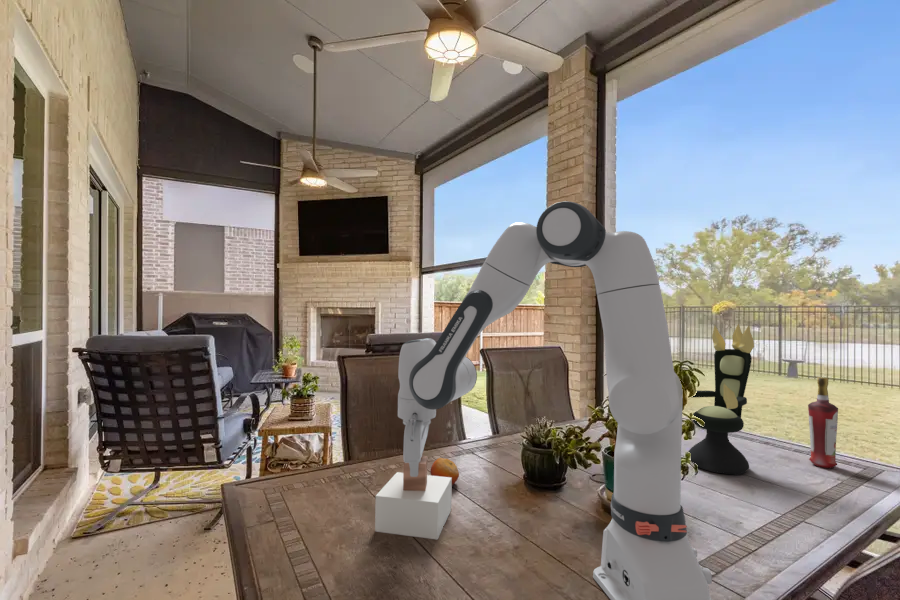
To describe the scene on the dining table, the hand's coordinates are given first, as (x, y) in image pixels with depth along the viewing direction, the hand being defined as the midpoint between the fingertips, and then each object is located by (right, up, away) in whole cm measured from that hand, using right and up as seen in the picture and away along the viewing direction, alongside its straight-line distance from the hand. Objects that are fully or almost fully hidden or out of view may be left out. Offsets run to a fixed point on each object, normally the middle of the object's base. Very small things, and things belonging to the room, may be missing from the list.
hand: (416, 469), depth 100 cm
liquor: (+127, -14, +39) cm, 133 cm away
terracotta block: (0, -4, 0) cm, 4 cm away
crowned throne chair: (+94, -14, +38) cm, 102 cm away
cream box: (0, -12, 0) cm, 12 cm away
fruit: (+6, -12, +20) cm, 24 cm away
